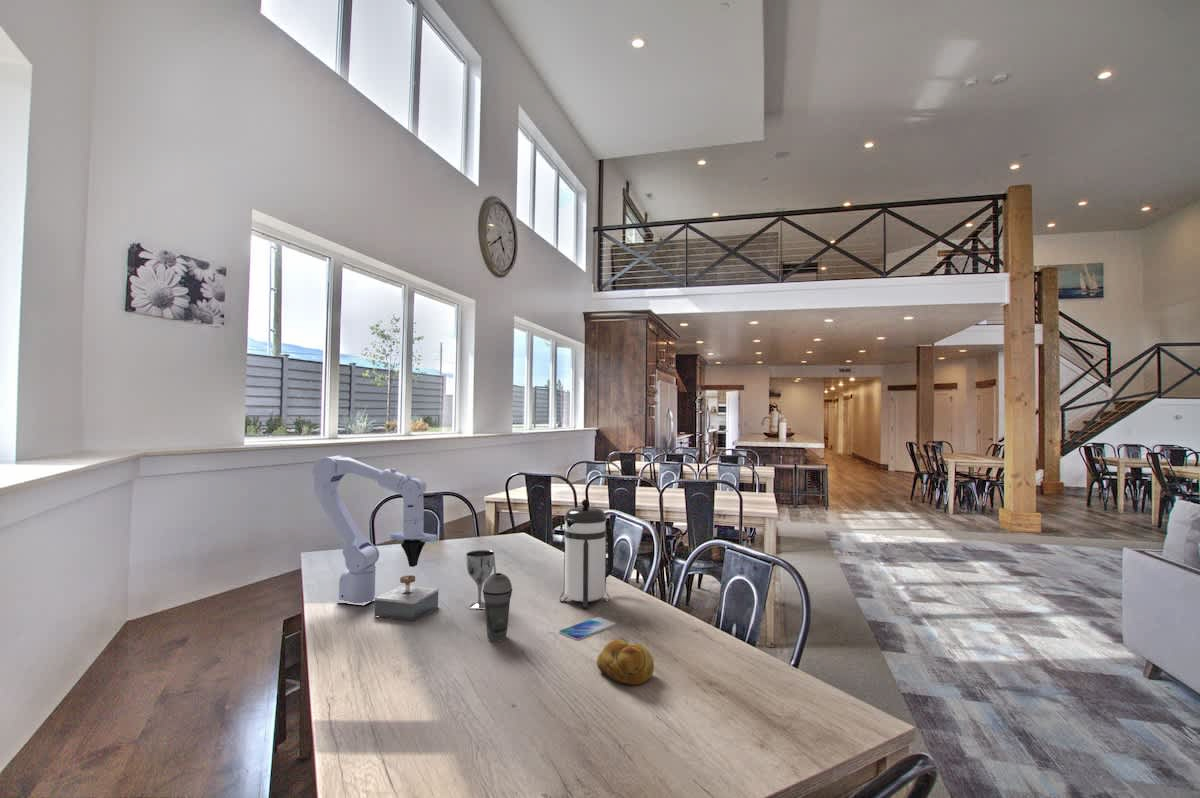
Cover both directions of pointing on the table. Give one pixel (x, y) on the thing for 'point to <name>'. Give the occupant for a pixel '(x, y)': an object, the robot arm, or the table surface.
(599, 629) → the smartphone
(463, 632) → the table surface
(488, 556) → the wine glass
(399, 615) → the press
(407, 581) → the brass door knob
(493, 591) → the beverage cup
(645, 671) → the bread roll
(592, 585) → the coffee press
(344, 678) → the table surface
